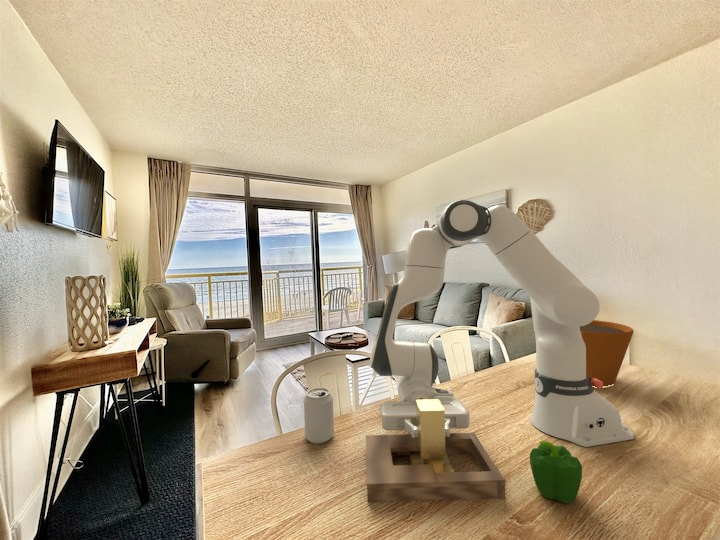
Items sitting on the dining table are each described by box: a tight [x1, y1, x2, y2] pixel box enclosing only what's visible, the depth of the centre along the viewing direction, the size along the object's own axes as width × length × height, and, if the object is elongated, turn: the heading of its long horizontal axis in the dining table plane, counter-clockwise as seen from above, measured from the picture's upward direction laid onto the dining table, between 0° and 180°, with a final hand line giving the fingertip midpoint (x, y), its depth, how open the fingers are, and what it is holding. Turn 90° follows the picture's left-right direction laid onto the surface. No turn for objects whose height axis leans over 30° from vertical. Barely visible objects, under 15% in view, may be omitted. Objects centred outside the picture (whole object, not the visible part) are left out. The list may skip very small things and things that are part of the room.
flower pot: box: [580, 319, 634, 386], centre depth 111 cm, size 24×24×20 cm
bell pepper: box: [529, 440, 583, 505], centre depth 59 cm, size 8×8×10 cm
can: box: [303, 387, 335, 445], centre depth 80 cm, size 8×8×12 cm
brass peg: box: [408, 399, 455, 473], centre depth 66 cm, size 8×8×14 cm
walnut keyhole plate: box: [365, 432, 506, 503], centre depth 66 cm, size 26×16×4 cm, turn 90°
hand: (431, 434), depth 65 cm, fingers closed on brass peg, 5 cm apart
